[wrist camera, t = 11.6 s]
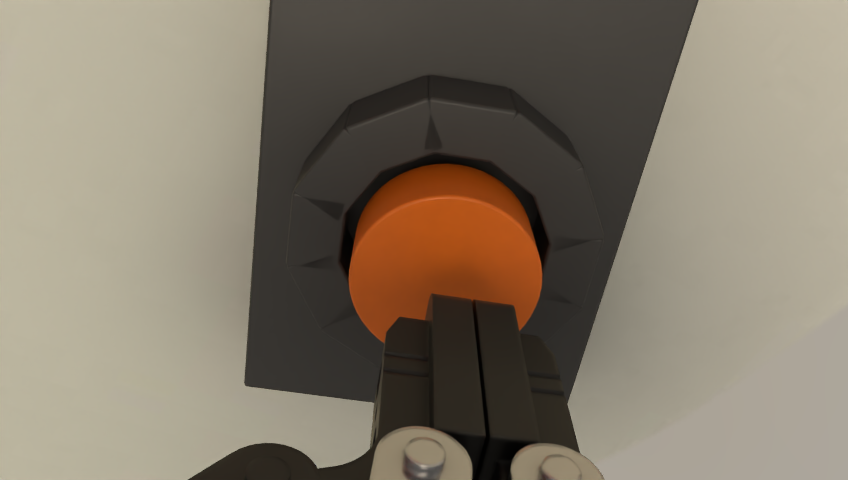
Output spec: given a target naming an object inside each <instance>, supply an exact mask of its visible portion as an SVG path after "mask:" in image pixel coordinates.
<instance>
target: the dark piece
mask: <svg viewBox="0 0 848 480" xmlns="http://www.w3.org/2000/svg"><path fill="white" fill-rule="evenodd" d="M697 3H698V0H270V7H269V22H268V37H267V52H266V67H265V82H264V97H263V112H262V127H261V142H260V157H259V172H258V187H257V202H256V217H255V232H254V247H253V262H252V277H251V292H250V307H249V322H248V337H247V352H246V367H245V382H244V383H245V386H249V387H257V388H265V389H272V390H280V391H288V392H296V393H303V394H311V395H319V396H327V397H335V398H342V399H350V400H358V401H366V402H374V401H375V394H376V388H377V382H378V377H379V371H380V365H381V360H382V354H383V348H384V343H383V342H382V341H380V340H379V339H378V338H377V337H376V336H375V335H373V334H372V333H371V332H370V331H369V329H368V328H367V327H366V326H365V324H364V323H363V322H362V320H361V319H360V317H359V315H358V314H357V312H356V310H355V307H354V305H353V302H352V299H351V295H350V290H349V268H350V262H351V256H352V251H353V245H354V240H355V234H356V229H357V224H358V221H359V219H360V216H361V213H362V211H363V210H364V208H365V206H366V204H367V203H368V201H369V200H370V199H371V197H372V196H373V195H374V194H375V193H376V192H377V191H378V190H379V189H380V188H381V187H382V186H383V185H384V184H386V183H387V182H388V181H390V180H391V179H393V178H394V177H396V176H398V175H400V174H402V173H404V172H406V171H409V170H411V169H414V168H418V167H421V166H426V165H433V164H457V165H463V166H468V167H472V168H475V169H478V170H481V171H483V172H485V173H487V174H489V175H491V176H493V177H495V178H496V179H498V180H499V181H501V182H502V183H503V184H505V185H506V186H507V187H508V188H509V189H510V190H511V191H512V192H513V193H514V194H515V196H516V197H517V198H518V199H519V201H520V202H521V204H522V206H523V207H524V209H525V211H526V214H527V216H528V218H529V222H530V225H531V229H532V232H533V236H534V239H535V243H536V246H537V250H538V253H539V257H540V261H541V266H542V287H541V292H540V297H539V300H538V302H537V305H536V308H535V309H534V311H533V313H532V315H531V317H530V318H529V320H528V321H527V323H526V324H525V325H524V327H523V328H522V329H521V330H520V331H519V332H520V334H527V335H534V336H539V337H540V338H541V339H542V340H543V342H544V343H545V344H546V345H547V347H548V348H549V349H550V350H551V351H552V353H553V354H554V355H555V358H556V362H557V366H558V370H559V374H560V379H561V381H562V385H563V389H564V396H565V397H566V401H567V403H568V400H569V397H570V394H571V391H572V388H573V385H574V382H575V379H576V376H577V373H578V370H579V367H580V363H581V360H582V357H583V354H584V351H585V348H586V345H587V342H588V339H589V336H590V333H591V330H592V327H593V323H594V320H595V317H596V314H597V311H598V308H599V305H600V302H601V299H602V296H603V293H604V290H605V286H606V283H607V280H608V277H609V274H610V271H611V268H612V265H613V262H614V259H615V256H616V253H617V250H618V246H619V243H620V240H621V237H622V234H623V231H624V228H625V225H626V222H627V219H628V216H629V213H630V210H631V206H632V203H633V200H634V197H635V194H636V191H637V188H638V185H639V182H640V179H641V176H642V173H643V170H644V166H645V163H646V160H647V157H648V154H649V151H650V148H651V145H652V142H653V139H654V136H655V133H656V130H657V126H658V123H659V120H660V117H661V114H662V111H663V108H664V105H665V102H666V99H667V96H668V93H669V90H670V86H671V83H672V80H673V77H674V74H675V71H676V68H677V65H678V62H679V59H680V56H681V53H682V49H683V46H684V43H685V40H686V37H687V34H688V31H689V28H690V25H691V22H692V19H693V16H694V13H695V9H696V6H697Z"/></svg>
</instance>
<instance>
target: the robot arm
mask: <svg viewBox="0 0 848 480" xmlns="http://www.w3.org/2000/svg"><path fill="white" fill-rule="evenodd" d="M188 480H604V477H603V475H602V474H601V473H600V471H599V469H598V468H597V467H596V466H595V465H594V464H593V463H592V462H591V461H590V460H589V459H587V458H586V457H585V456H583V455H582V454H580V451H579V447H578V444H577V440H576V436H575V432H574V428H573V424H572V420H571V416H570V412H569V409H568V405H567V401H566V397H565V396H564V389H563V385H562V381H561V379H560V374H559V370H558V366H557V362H556V358H555V355H554V354H553V353H552V351H551V350H550V349H549V348H548V347H547V345H546V344H545V343H544V342H543V340H542V339H541V338H540V337H539V336H534V335H527V334H520V332H519V327H518V322H517V317H516V312H515V307H514V305H510V304H503V303H496V302H489V301H482V300H476V299H473V301H472V300H471V299H468V298H461V297H454V296H447V295H440V294H433V293H431V295H430V298H429V302H428V306H427V311H426V316H425V320H420V319H413V318H406V317H399V318H398V319H397V320H396V321H395V322H394V324H393V325H392V326H391V327H390V328H389V329H388V331H387V332H386V337H385V342H384V348H383V354H382V360H381V365H380V371H379V377H378V382H377V388H376V394H375V401H374V411H373V423H372V433H371V444H370V449H369V450H368V451H367V452H366V453H365V454H364V455H362V456H361V457H360V458H358V459H356V460H354V461H352V462H349V463H346V464H343V465H338V466H333V467H326V468H319V469H317V467H316V465H315V464H314V463H313V461H312V460H311V459H310V458H309V457H308V456H307V455H305V454H304V453H302V452H301V451H299V450H297V449H294V448H292V447H289V446H286V445H281V444H275V443H262V444H254V445H250V446H246V447H243V448H241V449H238V450H237V451H235V452H233V453H231V454H229V455H228V456H226V457H224V458H223V459H221V460H219V461H218V462H216V463H215V464H213V465H211V466H210V467H208V468H206V469H205V470H203V471H201V472H200V473H198V474H196V475H195V476H193V477H192V478H190V479H188Z"/></svg>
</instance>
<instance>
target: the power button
mask: <svg viewBox="0 0 848 480" xmlns="http://www.w3.org/2000/svg"><path fill="white" fill-rule="evenodd" d="M541 287H542V266H541V261H540V257H539V253H538V250H537V246H536V243H535V239H534V236H533V232H532V229H531V225H530V222H529V218H528V216H527V214H526V211H525V209H524V207H523V206H522V204H521V202H520V201H519V199H518V198H517V197H516V196H515V194H514V193H513V192H512V191H511V190H510V189H509V188H508V187H507V186H506V185H505V184H503V183H502V182H501V181H499V180H498V179H496V178H495V177H493V176H491V175H489V174H487V173H485V172H483V171H481V170H478V169H475V168H472V167H468V166H463V165H457V164H433V165H426V166H421V167H418V168H414V169H411V170H409V171H406V172H404V173H402V174H400V175H398V176H396V177H394V178H393V179H391V180H390V181H388V182H387V183H386V184H384V185H383V186H382V187H381V188H380V189H379V190H378V191H377V192H376V193H375V194H374V195H373V196H372V197H371V199H370V200H369V201H368V203H367V204H366V206H365V208H364V210H363V211H362V213H361V216H360V219H359V221H358V224H357V229H356V234H355V240H354V245H353V251H352V256H351V262H350V268H349V290H350V295H351V299H352V302H353V305H354V307H355V310H356V312H357V314H358V315H359V317H360V319H361V320H362V322H363V323H364V324H365V326H366V327H367V328H368V329H369V331H370V332H371V333H372V334H373V335H375V336H376V337H377V338H378V339H379V340H380V341H382V342H383V343H384V342H385V337H386V332H387V331H388V329H389V328H390V327H391V326H392V325H393V324H394V322H395V321H396V320H397V319H398V318H399V317H406V318H413V319H420V320H425V316H426V311H427V306H428V302H429V298H430V295H431V293H433V294H440V295H447V296H454V297H461V298H468V299H471V300H472V301H473V299H476V300H482V301H489V302H496V303H503V304H510V305H514V307H515V312H516V317H517V322H518V327H519V331H520V330H521V329H522V328H523V327H524V325H525V324H526V323H527V321H528V320H529V318H530V317H531V315H532V313H533V311H534V309H535V308H536V305H537V302H538V300H539V297H540V292H541Z"/></svg>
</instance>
